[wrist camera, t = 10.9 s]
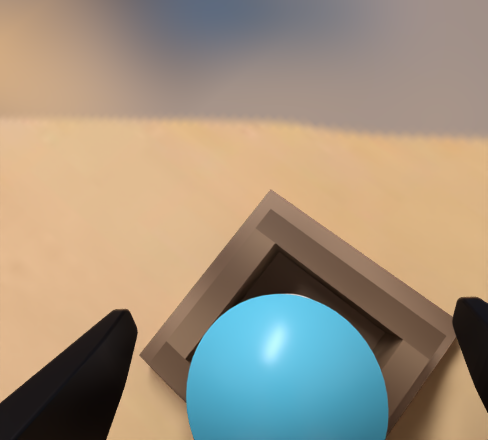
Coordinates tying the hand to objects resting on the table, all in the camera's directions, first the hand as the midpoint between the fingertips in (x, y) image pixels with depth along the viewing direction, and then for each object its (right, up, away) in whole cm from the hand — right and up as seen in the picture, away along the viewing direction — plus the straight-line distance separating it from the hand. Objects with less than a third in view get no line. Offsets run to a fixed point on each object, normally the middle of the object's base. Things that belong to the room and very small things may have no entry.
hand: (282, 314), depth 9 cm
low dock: (+1, -3, +6) cm, 7 cm away
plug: (+1, -3, +5) cm, 6 cm away
